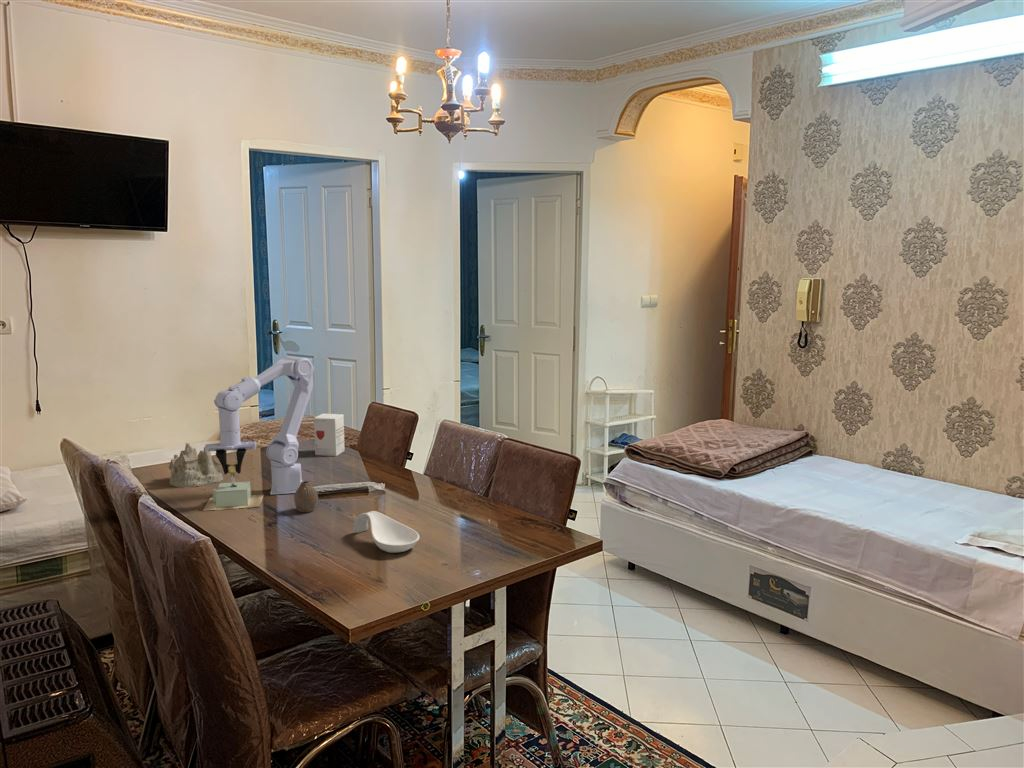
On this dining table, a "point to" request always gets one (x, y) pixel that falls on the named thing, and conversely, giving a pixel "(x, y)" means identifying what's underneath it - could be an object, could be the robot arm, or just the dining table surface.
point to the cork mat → (254, 502)
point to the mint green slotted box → (232, 494)
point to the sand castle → (194, 468)
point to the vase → (305, 497)
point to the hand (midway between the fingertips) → (232, 473)
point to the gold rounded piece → (232, 472)
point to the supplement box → (329, 434)
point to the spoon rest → (386, 532)
